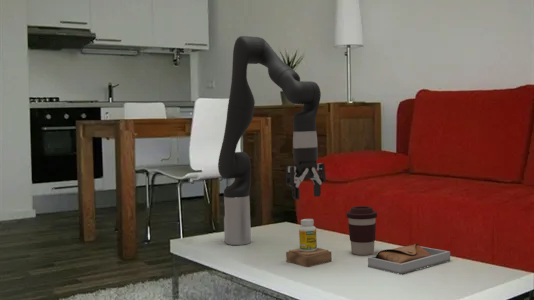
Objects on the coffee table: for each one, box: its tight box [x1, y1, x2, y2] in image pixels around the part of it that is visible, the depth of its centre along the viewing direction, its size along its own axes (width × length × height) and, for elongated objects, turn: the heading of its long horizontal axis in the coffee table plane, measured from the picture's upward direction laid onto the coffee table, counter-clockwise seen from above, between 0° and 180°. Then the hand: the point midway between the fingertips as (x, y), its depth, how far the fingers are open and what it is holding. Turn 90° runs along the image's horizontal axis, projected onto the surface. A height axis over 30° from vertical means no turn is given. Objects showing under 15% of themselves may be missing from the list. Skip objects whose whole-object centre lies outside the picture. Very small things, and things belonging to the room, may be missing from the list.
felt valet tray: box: [367, 245, 451, 275], centre depth 180 cm, size 13×23×3 cm, turn 128°
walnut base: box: [285, 247, 333, 268], centre depth 187 cm, size 10×10×4 cm
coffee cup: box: [346, 205, 378, 256], centre depth 196 cm, size 10×10×15 cm
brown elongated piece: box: [375, 243, 432, 264], centre depth 180 cm, size 18×7×7 cm
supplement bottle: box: [298, 218, 318, 252], centre depth 187 cm, size 5×5×10 cm
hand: (306, 198), depth 186 cm, fingers open, 8 cm apart
